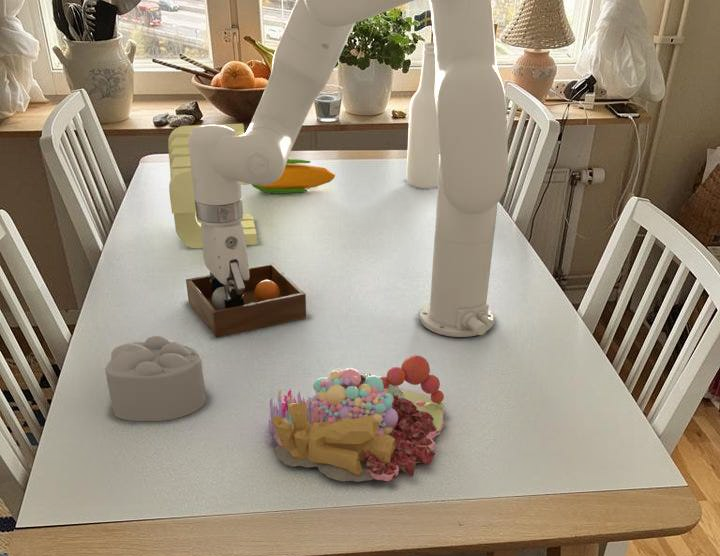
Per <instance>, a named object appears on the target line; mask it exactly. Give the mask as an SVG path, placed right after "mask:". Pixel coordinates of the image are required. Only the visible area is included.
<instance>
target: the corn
mask: <svg viewBox="0 0 720 556" xmlns="http://www.w3.org/2000/svg"><path fill="white" fill-rule="evenodd" d="M310 163H311V160H307V159H300V158H288V160H287V163H286V166H285V169H284V171H283V173H282V175H281V177H280V178H279V179H278V180H277V181H275V182H274V183H271V184H268V185H255V184H250V186H252V187H253V188H255V189H256V190H258V191H260V192H264V193H268V194H299V193H305V192H308V190H307V189H312V188H317V187H319V186H323V185H326V184H328V183H331V181H333V180H334V179H335V177H336V174H335V173H334V172H332V171H331V170H329V169H328V168H326V167H321V166H315V165H308V164H310Z"/></svg>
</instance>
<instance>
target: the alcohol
mask: <svg viewBox="0 0 720 556" xmlns="http://www.w3.org/2000/svg"><path fill="white" fill-rule="evenodd" d="M422 48H423V51H422V54H423V55H422V63H421V72H420V79H419V85H418V88H417V91H416V92H415V93H414V94H413V96H412V97H411V99H410V102H409V108H408V128H407V129H408V131H407V152H406V153H407V154H406V174H405V175H406V176H405V179H406V181H407V183H408V185H410V186H411V187H415V188H419V189H433V188H438V162H439V155H440V149H439V136H438V124H437V112H436V102H435V80H436V65H435V48H434V42H428V43H424V44H423V47H422Z"/></svg>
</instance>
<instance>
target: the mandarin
mask: <svg viewBox="0 0 720 556" xmlns="http://www.w3.org/2000/svg"><path fill="white" fill-rule="evenodd" d="M279 296H280V290H279V288H278V286H277V285H276V283H274V282H273V281H270V280H264V281H261V282H260V283H258V284H257V286H256V288H255V298H256V300H257V301H258V302H260V301H265V300H270V299H274V298H279Z"/></svg>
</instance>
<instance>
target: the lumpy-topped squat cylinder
mask: <svg viewBox="0 0 720 556" xmlns="http://www.w3.org/2000/svg"><path fill="white" fill-rule="evenodd" d="M110 355H111V356H110V361H109V362H107V364H106V366H105V369H104V372H105V376H106V382H107V386H108V387H107V388H108V391H109V396H110V401H111V402H110V403H111V407H112V411H113V416H115V417H116V418H118V419H120V420H124V421H130V422H163V421H165V422H166V421H171V420H175V419H179V418H182V417H186V416H188V415H192V414H194V413H195V412H197V411H198V410H200V409H201V408H203V407H204V406H205V404H206V403H207V395H206V388H205V387H206V386H205V378H204V370H203V363H202V357H201V354H200V353H199V352H198V351H197V350H196V349H194V348H192V347H191V346H188V345H185V344H181V343H178V342H175V341H169V340H168V339H167V338H165V337H163V336H160V335H152V336H149V337H147V338H146V339H145V340H144V341H135V342H126V343H123V344H121V345H118V346H117V347H115V348H114V349H113V350H112V351H111V354H110Z"/></svg>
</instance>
